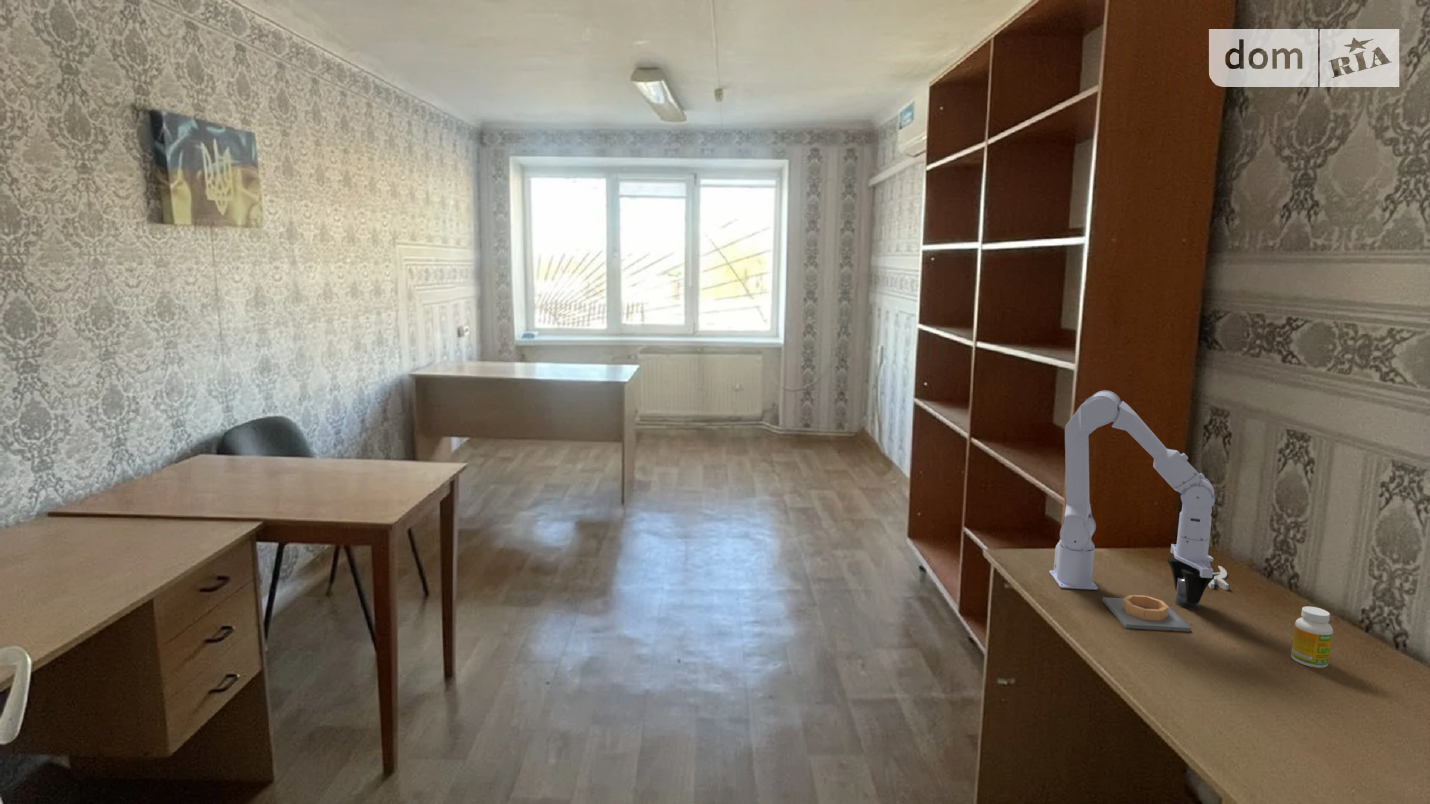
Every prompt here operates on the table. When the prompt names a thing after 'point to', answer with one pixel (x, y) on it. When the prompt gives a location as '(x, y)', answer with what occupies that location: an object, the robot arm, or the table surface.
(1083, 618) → the table surface
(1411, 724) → the table surface
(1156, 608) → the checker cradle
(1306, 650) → the supplement bottle
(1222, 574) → the pliers
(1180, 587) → the cell
